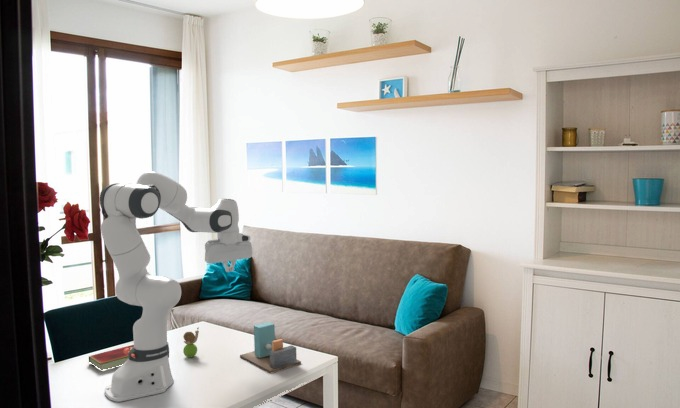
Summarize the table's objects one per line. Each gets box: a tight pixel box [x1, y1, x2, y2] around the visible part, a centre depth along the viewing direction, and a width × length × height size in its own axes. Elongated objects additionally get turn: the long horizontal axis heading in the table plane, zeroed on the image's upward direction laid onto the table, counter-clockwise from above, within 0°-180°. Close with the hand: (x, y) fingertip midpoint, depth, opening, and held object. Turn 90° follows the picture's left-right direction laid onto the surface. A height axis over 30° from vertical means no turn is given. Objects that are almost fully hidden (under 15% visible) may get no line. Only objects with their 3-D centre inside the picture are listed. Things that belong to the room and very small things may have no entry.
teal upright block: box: [253, 321, 276, 358], centre depth 209 cm, size 7×6×12 cm
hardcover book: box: [88, 344, 134, 370], centre depth 210 cm, size 12×21×4 cm, turn 135°
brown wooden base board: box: [239, 350, 302, 374], centre depth 208 cm, size 14×22×1 cm, turn 40°
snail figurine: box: [182, 326, 200, 358], centre depth 213 cm, size 5×6×12 cm
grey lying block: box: [270, 345, 298, 370], centre depth 200 cm, size 10×3×6 cm, turn 130°
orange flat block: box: [272, 338, 284, 351], centre depth 205 cm, size 9×2×8 cm, turn 130°
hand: (229, 271), depth 218 cm, fingers closed
